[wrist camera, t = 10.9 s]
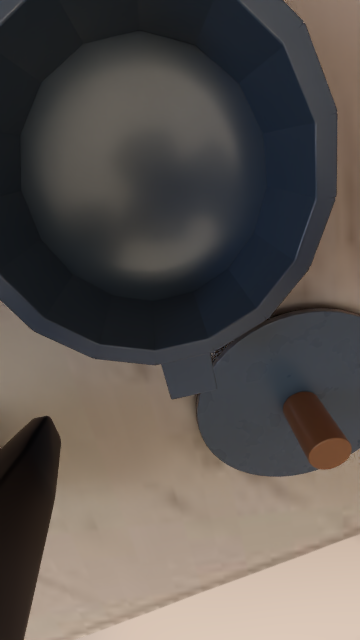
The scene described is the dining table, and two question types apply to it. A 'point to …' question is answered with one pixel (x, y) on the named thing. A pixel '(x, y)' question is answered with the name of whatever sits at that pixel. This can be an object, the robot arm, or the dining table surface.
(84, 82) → the pot
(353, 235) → the dining table surface
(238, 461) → the pot lid
